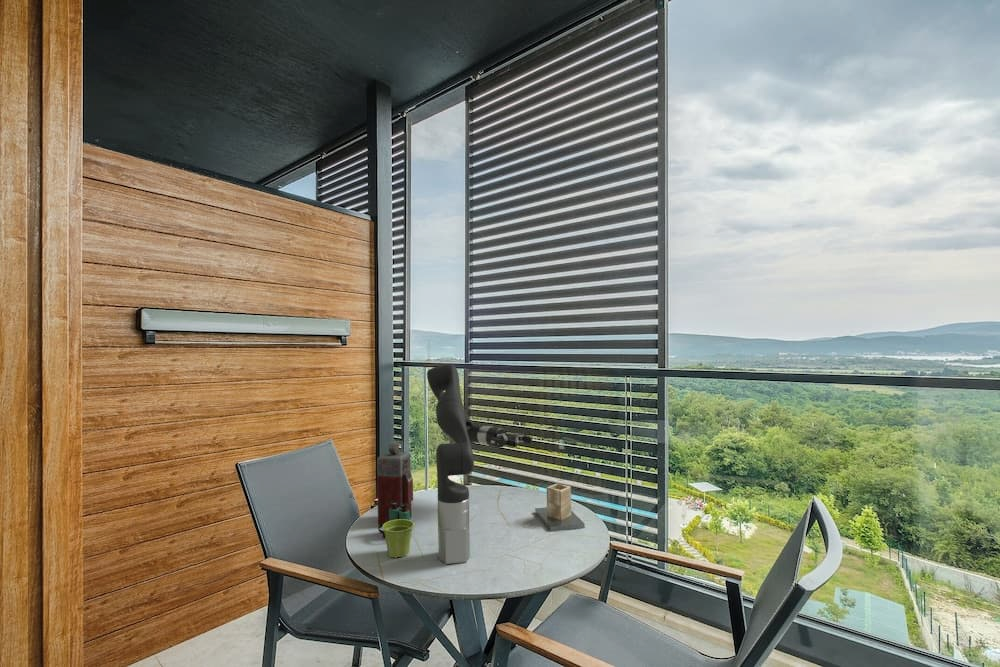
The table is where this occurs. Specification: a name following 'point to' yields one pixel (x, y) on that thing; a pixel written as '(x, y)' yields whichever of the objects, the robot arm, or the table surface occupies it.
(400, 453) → the dark red bottle
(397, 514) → the binoculars
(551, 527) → the post plate
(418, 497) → the table surface
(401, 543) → the plant pot
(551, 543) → the table surface
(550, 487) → the wooden sleeve
